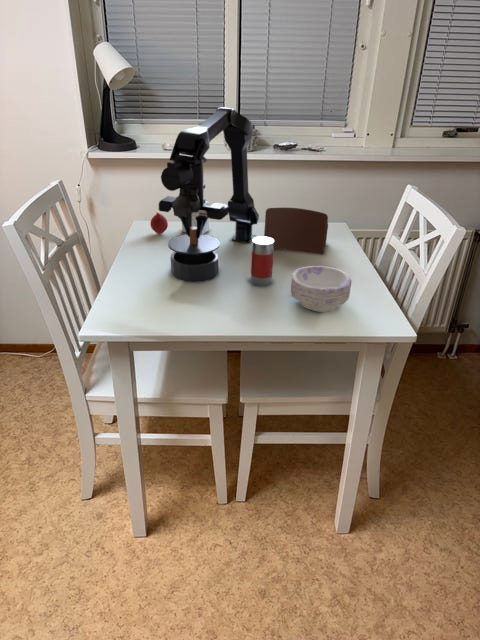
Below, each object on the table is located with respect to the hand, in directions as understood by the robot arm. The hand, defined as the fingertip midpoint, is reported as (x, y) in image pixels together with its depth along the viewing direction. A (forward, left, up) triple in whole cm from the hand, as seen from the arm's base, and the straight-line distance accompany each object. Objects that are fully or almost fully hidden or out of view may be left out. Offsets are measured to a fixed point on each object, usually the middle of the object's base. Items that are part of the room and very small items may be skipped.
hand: (193, 237), depth 138 cm
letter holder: (-32, +22, -11) cm, 40 cm away
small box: (-31, -14, -11) cm, 36 cm away
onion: (-23, -24, -11) cm, 35 cm away
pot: (0, 0, -11) cm, 11 cm away
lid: (0, 0, -2) cm, 2 cm away
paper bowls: (+5, +38, -11) cm, 40 cm away
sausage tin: (-2, +20, -11) cm, 23 cm away
